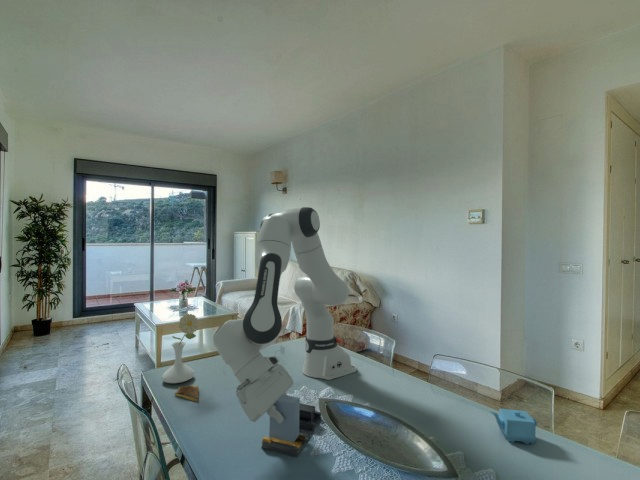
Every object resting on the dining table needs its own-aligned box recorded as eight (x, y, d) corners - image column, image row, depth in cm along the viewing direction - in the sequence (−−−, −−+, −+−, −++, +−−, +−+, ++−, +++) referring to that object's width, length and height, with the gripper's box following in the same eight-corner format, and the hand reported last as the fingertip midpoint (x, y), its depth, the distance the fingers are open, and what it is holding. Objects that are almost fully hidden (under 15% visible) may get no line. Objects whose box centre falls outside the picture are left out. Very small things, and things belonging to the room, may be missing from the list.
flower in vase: (162, 388, 121) (163, 319, 120) (161, 376, 131) (161, 312, 130) (200, 382, 127) (201, 315, 126) (196, 371, 137) (197, 309, 136)
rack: (261, 448, 88) (261, 431, 88) (291, 412, 106) (291, 398, 106) (296, 457, 85) (296, 439, 84) (321, 418, 102) (321, 404, 102)
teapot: (492, 441, 93) (493, 414, 92) (486, 429, 98) (486, 403, 98) (541, 447, 90) (541, 419, 90) (531, 434, 96) (532, 408, 96)
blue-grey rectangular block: (269, 436, 89) (270, 398, 89) (275, 429, 92) (276, 393, 92) (293, 442, 87) (294, 403, 87) (299, 435, 90) (299, 397, 90)
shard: (198, 403, 112) (198, 398, 112) (173, 406, 109) (173, 401, 109) (198, 389, 122) (198, 384, 122) (175, 392, 120) (175, 386, 119)
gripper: (241, 381, 82) (276, 430, 79) (279, 354, 101) (308, 392, 98) (225, 397, 83) (259, 445, 80) (265, 367, 103) (294, 405, 99)
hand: (286, 416), depth 89 cm, fingers closed on blue-grey rectangular block, 3 cm apart
